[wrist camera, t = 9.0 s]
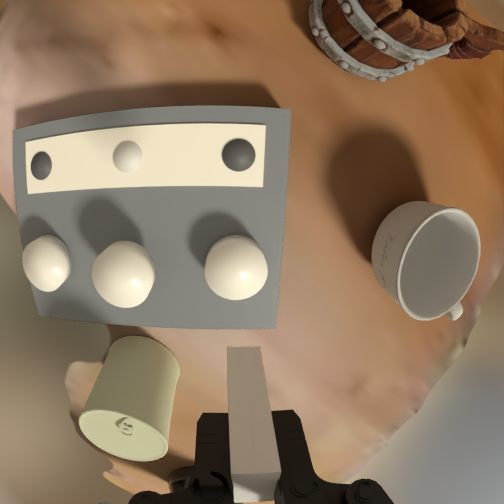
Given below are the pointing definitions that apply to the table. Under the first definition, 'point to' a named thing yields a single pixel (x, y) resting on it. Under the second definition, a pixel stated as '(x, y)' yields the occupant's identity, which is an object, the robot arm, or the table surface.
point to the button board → (157, 205)
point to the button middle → (124, 274)
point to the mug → (397, 34)
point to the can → (132, 400)
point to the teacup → (426, 258)
